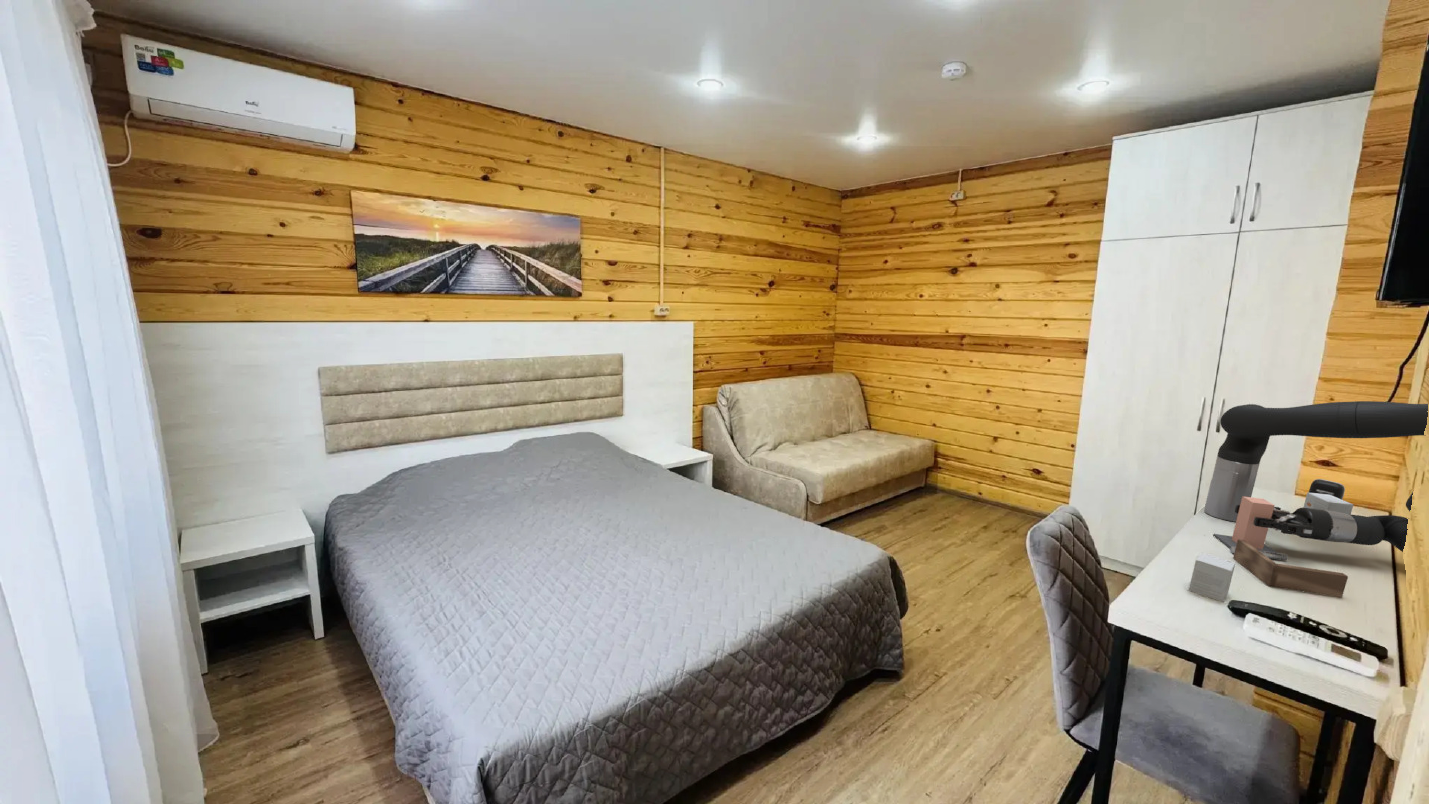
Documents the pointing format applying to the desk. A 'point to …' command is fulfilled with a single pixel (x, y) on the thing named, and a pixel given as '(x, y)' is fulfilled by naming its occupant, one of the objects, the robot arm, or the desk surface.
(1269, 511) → the tall pink rectangular block
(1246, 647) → the desk surface
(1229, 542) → the mat
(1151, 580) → the desk surface
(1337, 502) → the small box
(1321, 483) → the battery charger
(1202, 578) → the product box
